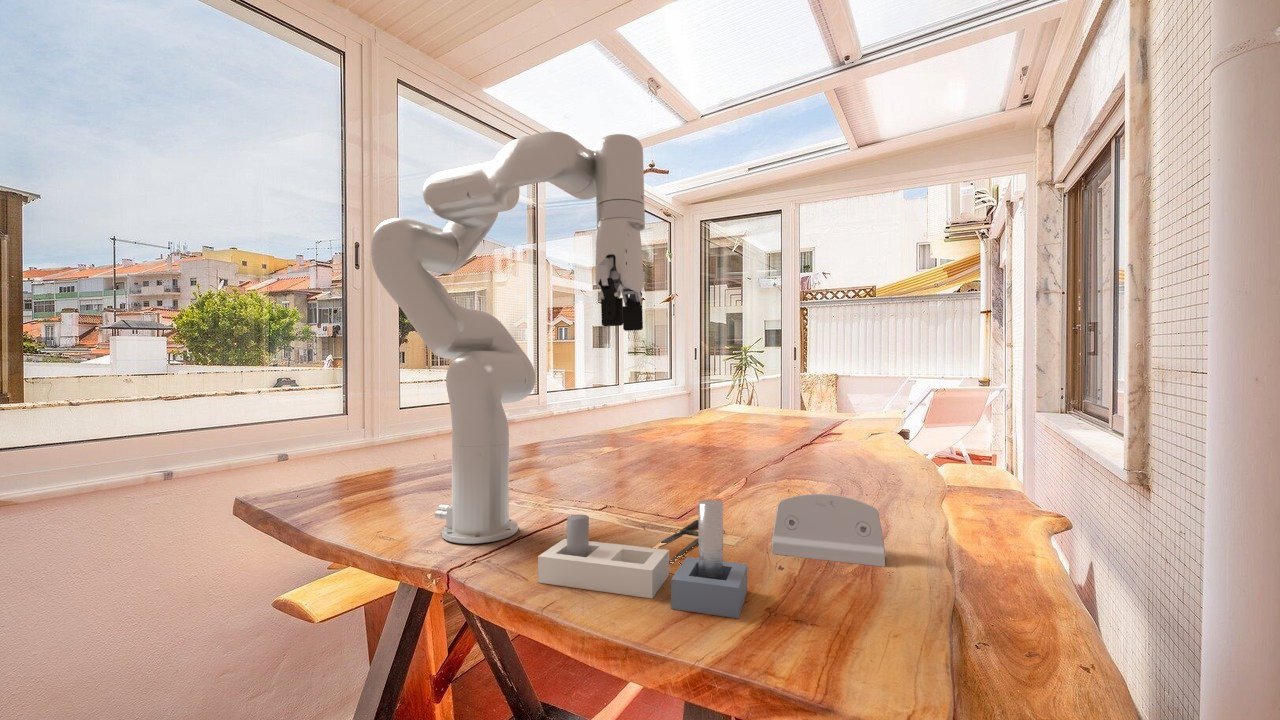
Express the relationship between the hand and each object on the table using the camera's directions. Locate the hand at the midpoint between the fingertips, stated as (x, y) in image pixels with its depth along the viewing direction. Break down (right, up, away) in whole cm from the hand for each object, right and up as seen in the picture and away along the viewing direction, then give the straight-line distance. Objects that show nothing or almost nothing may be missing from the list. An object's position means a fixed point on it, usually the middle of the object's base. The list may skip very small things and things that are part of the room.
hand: (623, 328), depth 85 cm
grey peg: (+11, -35, -17) cm, 40 cm away
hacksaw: (+11, -36, +3) cm, 37 cm away
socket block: (+11, -35, -17) cm, 40 cm away
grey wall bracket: (+32, -35, 0) cm, 48 cm away
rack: (-2, -35, -10) cm, 36 cm away
